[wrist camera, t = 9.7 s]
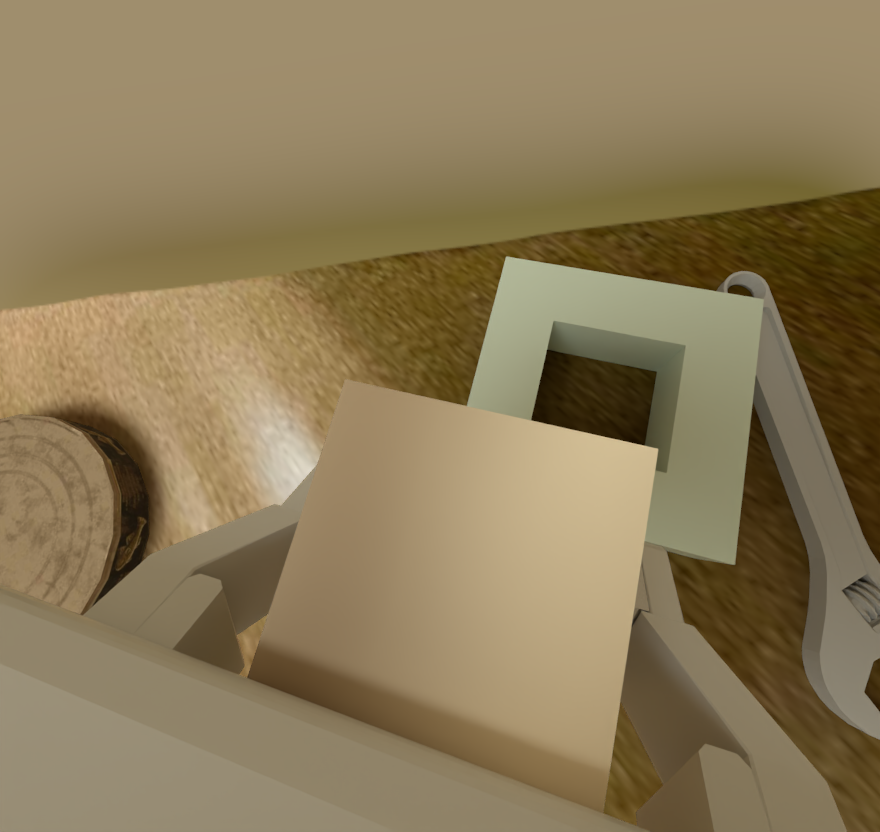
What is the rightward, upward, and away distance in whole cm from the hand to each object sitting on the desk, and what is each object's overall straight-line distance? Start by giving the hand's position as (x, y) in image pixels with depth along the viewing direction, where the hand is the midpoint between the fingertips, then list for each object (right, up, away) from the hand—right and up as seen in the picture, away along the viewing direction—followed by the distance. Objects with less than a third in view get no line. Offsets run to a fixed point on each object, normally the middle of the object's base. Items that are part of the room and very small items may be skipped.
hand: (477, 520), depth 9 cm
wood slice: (-28, -6, +20) cm, 34 cm away
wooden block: (+1, -2, +6) cm, 6 cm away
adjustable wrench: (+20, -1, +15) cm, 26 cm away
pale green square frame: (+8, +2, +17) cm, 19 cm away
